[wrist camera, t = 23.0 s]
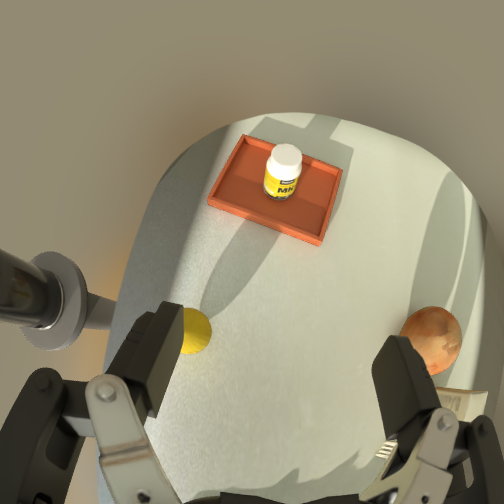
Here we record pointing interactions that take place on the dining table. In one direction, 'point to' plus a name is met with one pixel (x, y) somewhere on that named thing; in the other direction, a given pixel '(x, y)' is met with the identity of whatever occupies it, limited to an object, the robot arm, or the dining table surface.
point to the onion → (434, 337)
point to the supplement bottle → (282, 171)
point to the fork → (386, 448)
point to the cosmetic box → (462, 402)
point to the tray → (267, 209)
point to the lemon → (195, 331)
